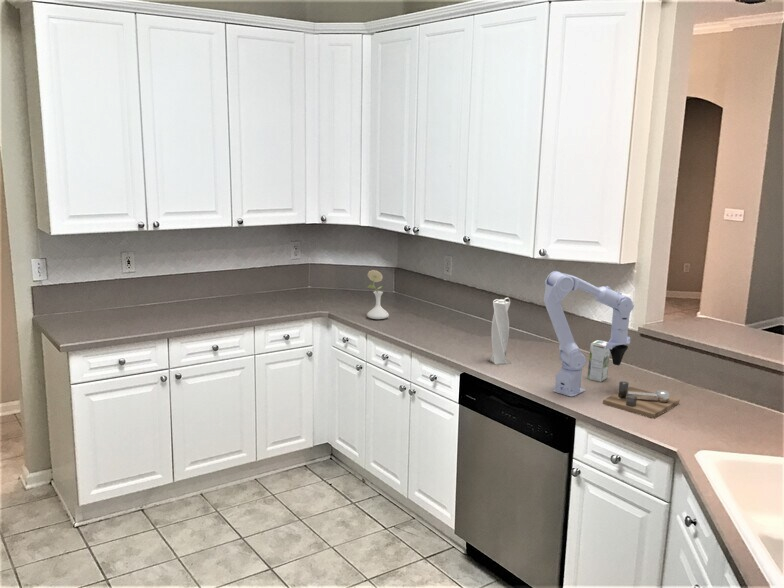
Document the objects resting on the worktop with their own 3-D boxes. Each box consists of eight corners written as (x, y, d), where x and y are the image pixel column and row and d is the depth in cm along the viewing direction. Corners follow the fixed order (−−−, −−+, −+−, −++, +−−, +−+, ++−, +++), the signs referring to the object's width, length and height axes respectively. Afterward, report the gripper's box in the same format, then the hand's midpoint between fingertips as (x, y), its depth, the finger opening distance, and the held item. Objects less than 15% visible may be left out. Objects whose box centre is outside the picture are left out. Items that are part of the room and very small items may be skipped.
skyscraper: (512, 365, 272) (516, 298, 267) (493, 366, 271) (497, 298, 265) (504, 359, 280) (508, 293, 275) (486, 360, 279) (489, 294, 273)
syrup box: (593, 375, 261) (596, 339, 258) (607, 378, 257) (611, 342, 254) (587, 379, 256) (589, 342, 253) (601, 382, 253) (605, 345, 250)
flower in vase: (393, 318, 347) (394, 270, 341) (379, 322, 338) (380, 273, 333) (374, 314, 354) (374, 267, 349) (359, 317, 346) (360, 270, 341)
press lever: (669, 402, 228) (671, 388, 227) (619, 398, 231) (620, 384, 230) (667, 398, 232) (668, 384, 231) (617, 394, 235) (618, 380, 234)
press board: (653, 418, 218) (655, 405, 217) (602, 403, 231) (603, 391, 230) (679, 403, 232) (680, 391, 231) (629, 390, 245) (630, 378, 244)
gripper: (620, 333, 233) (617, 371, 236) (639, 327, 243) (636, 362, 246) (602, 330, 238) (598, 366, 241) (621, 323, 248) (618, 358, 251)
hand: (616, 364), depth 244 cm, fingers closed
